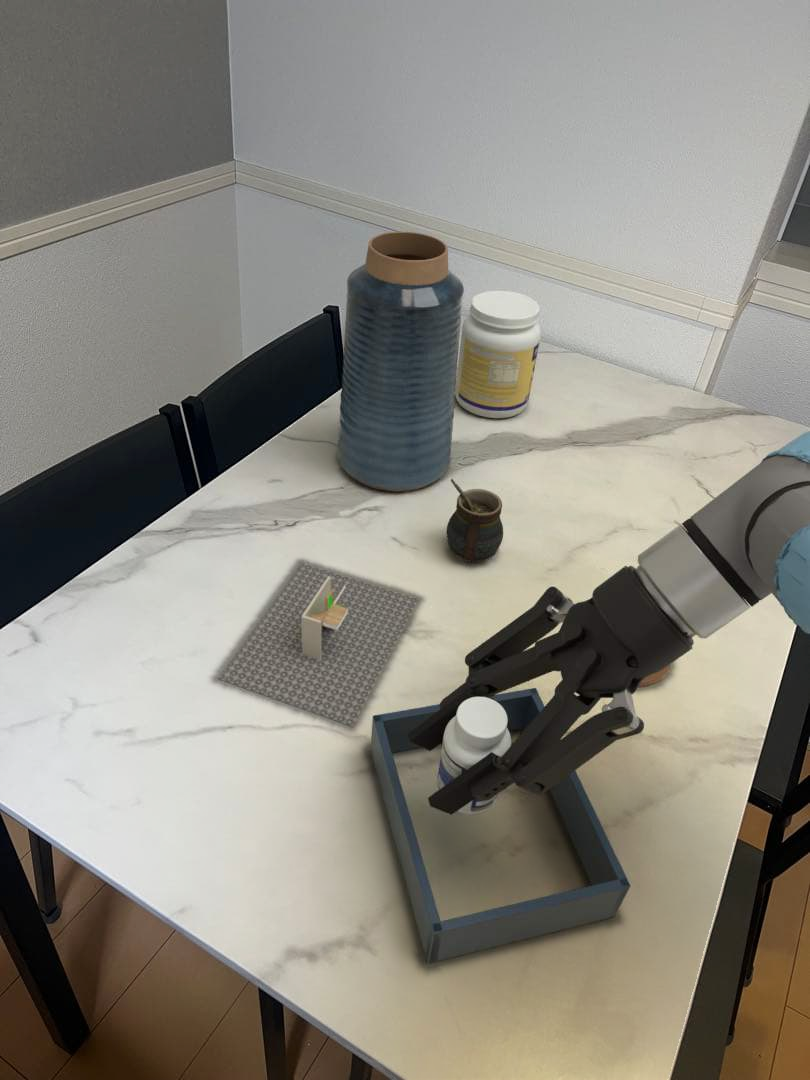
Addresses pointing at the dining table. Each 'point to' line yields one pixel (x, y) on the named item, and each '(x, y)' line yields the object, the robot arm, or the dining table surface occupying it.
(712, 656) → the dining table surface
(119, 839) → the dining table surface
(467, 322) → the supplement tub
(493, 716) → the pill bottle
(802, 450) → the robot arm
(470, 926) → the blue bottomless tray frame
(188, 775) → the dining table surface
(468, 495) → the mate gourd
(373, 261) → the vase
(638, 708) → the dining table surface
